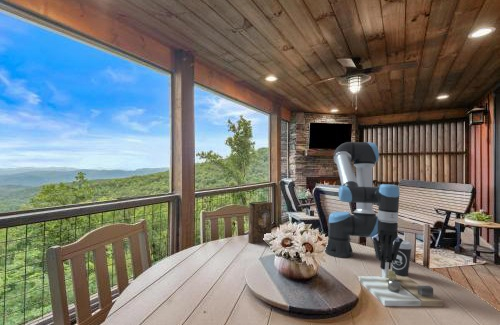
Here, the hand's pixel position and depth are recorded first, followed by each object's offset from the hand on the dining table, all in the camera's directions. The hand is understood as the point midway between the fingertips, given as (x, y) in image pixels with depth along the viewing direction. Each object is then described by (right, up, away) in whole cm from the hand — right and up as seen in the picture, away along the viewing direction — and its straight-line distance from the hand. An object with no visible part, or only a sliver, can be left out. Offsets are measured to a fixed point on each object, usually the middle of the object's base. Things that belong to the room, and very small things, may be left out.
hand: (384, 276), depth 109 cm
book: (-51, -3, +58) cm, 78 cm away
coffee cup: (+14, -4, +13) cm, 20 cm away
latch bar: (+1, -1, -4) cm, 4 cm away
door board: (+2, -4, -6) cm, 7 cm away
